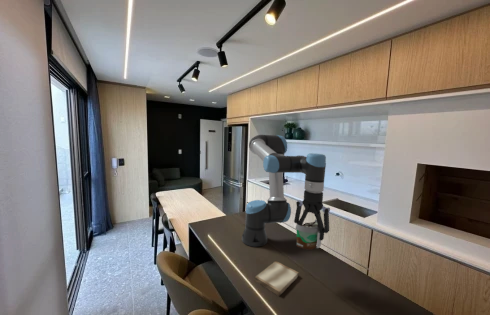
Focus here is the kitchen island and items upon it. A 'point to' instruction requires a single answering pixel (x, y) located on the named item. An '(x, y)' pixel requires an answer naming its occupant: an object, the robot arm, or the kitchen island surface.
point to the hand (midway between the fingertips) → (309, 243)
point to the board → (276, 277)
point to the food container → (307, 235)
